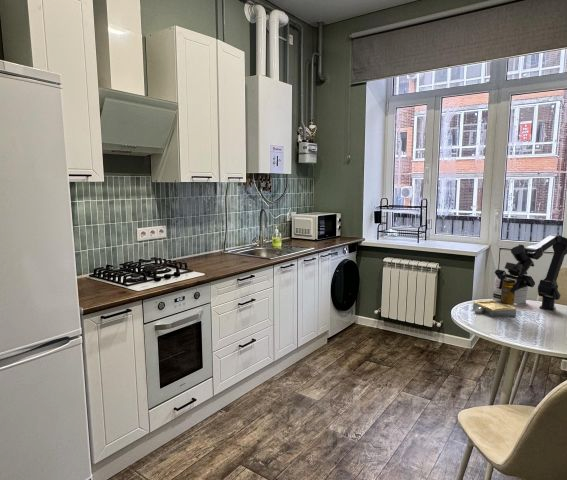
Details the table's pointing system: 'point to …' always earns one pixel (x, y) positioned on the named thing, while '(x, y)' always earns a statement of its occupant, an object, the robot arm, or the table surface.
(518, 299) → the supplement box
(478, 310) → the gold square tray
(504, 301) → the condiment
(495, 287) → the supplement can
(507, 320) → the table surface
